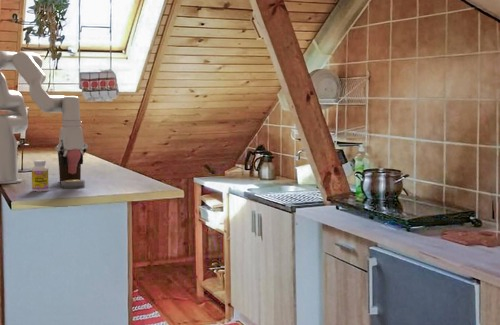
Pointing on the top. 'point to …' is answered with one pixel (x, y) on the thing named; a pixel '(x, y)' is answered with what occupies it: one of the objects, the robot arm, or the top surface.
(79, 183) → the socket base
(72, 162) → the light bulb
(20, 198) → the top surface
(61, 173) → the olive oil
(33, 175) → the supplement bottle
